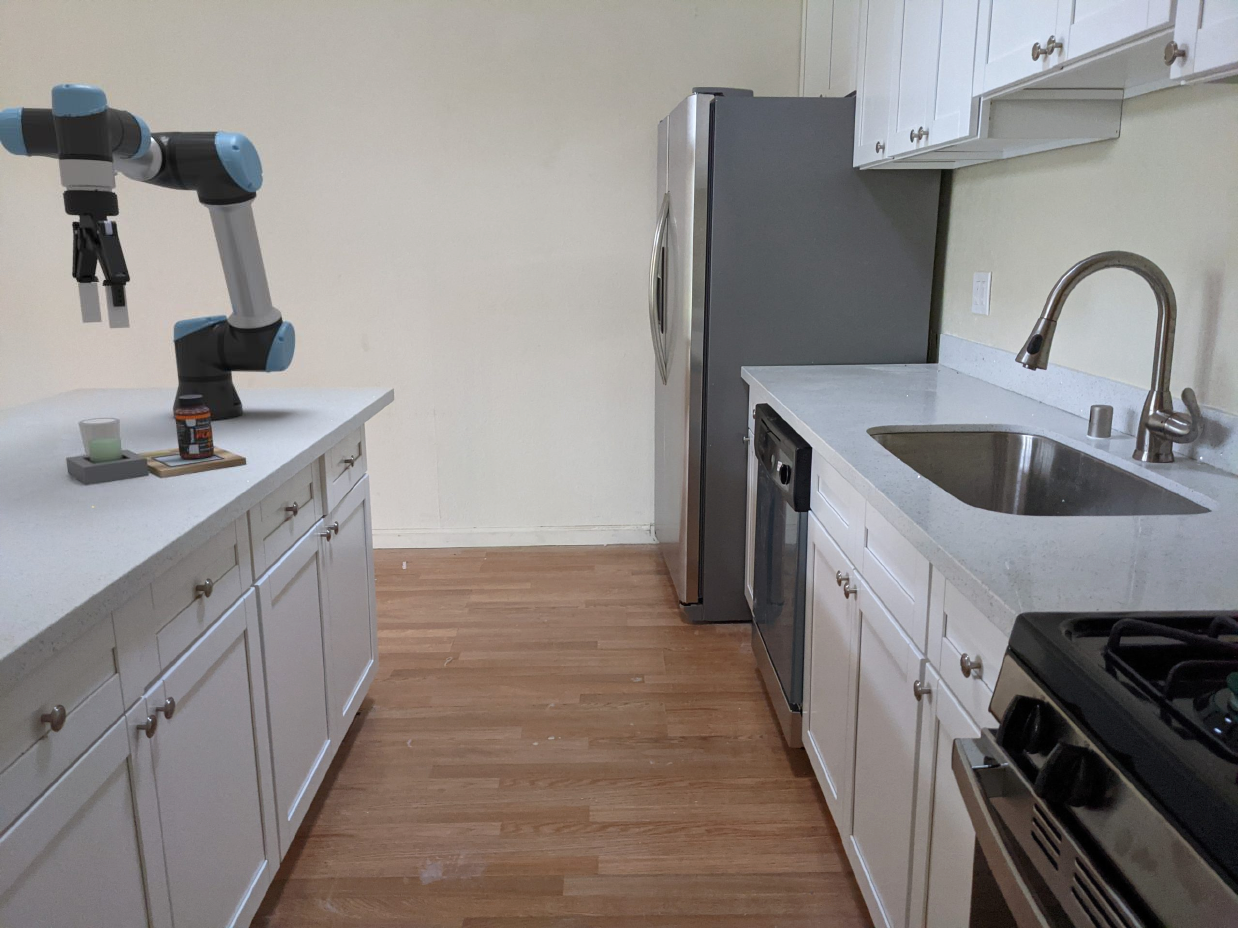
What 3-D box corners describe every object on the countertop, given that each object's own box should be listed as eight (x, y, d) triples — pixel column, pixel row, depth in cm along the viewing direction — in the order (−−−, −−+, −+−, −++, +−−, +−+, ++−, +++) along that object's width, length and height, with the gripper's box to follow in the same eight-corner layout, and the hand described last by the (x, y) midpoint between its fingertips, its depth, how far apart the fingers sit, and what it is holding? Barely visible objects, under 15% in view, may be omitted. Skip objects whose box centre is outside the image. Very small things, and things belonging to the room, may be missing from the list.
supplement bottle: (202, 460, 168) (195, 399, 166) (172, 459, 169) (165, 398, 167) (221, 452, 174) (214, 393, 171) (192, 451, 175) (185, 393, 172)
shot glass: (82, 462, 172) (77, 425, 170) (83, 454, 178) (78, 418, 176) (123, 458, 175) (119, 422, 173) (123, 451, 181) (119, 416, 179)
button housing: (68, 474, 163) (66, 457, 162) (128, 465, 170) (127, 449, 169) (86, 484, 156) (83, 467, 155) (148, 475, 163) (146, 458, 162)
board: (128, 461, 173) (127, 454, 172) (209, 449, 183) (208, 443, 183) (161, 477, 161) (161, 470, 161) (246, 464, 171) (245, 457, 171)
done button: (87, 468, 162) (84, 440, 161) (118, 463, 166) (114, 436, 165) (96, 473, 159) (93, 444, 158) (127, 468, 162) (124, 440, 161)
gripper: (143, 188, 140) (157, 329, 145) (90, 193, 157) (105, 319, 162) (88, 186, 135) (105, 331, 140) (40, 191, 152) (57, 321, 157)
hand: (105, 325), depth 151 cm, fingers open, 13 cm apart
